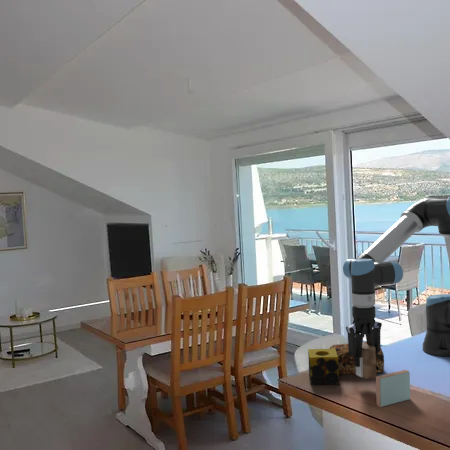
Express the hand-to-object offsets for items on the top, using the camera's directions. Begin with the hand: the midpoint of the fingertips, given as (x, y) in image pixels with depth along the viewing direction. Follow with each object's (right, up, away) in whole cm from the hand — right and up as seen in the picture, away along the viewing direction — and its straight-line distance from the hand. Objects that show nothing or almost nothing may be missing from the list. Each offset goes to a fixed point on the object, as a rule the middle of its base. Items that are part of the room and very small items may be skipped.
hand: (365, 374), depth 170 cm
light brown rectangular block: (0, 0, 0) cm, 0 cm away
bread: (+2, -4, +19) cm, 20 cm away
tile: (+6, -5, -11) cm, 14 cm away
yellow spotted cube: (-12, -5, +10) cm, 16 cm away
